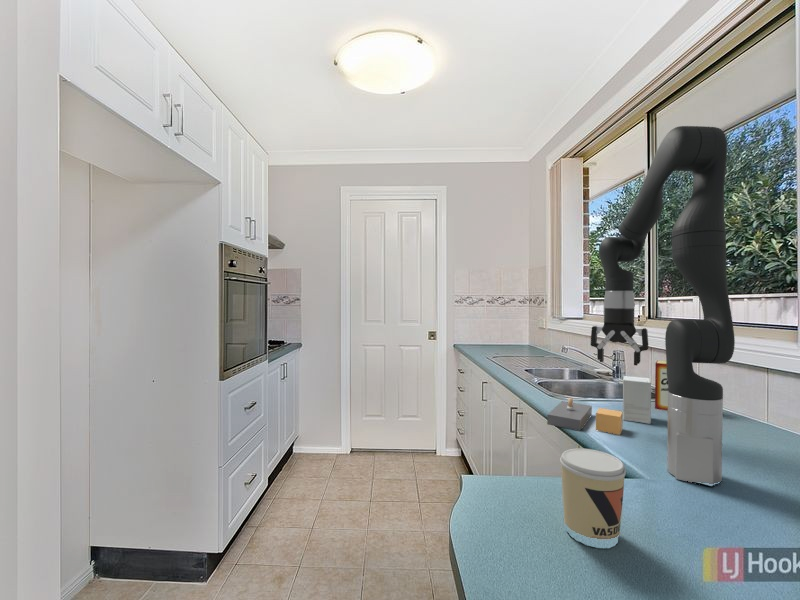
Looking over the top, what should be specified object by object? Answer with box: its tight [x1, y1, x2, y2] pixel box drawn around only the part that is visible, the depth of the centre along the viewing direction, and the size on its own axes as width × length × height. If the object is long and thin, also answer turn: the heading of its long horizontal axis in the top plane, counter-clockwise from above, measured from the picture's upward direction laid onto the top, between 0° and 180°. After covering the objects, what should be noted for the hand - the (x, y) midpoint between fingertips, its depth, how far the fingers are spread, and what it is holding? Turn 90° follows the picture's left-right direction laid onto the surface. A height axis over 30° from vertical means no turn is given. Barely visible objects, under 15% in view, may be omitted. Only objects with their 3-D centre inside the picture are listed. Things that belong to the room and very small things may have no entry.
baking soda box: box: [654, 359, 668, 412], centre depth 130 cm, size 10×6×16 cm
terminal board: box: [546, 397, 593, 432], centre depth 118 cm, size 18×9×6 cm, turn 144°
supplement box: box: [622, 375, 652, 425], centre depth 119 cm, size 7×7×13 cm
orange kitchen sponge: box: [595, 407, 624, 436], centre depth 109 cm, size 6×6×5 cm
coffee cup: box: [559, 447, 627, 539], centre depth 61 cm, size 9×9×12 cm
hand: (618, 363), depth 110 cm, fingers open, 8 cm apart
